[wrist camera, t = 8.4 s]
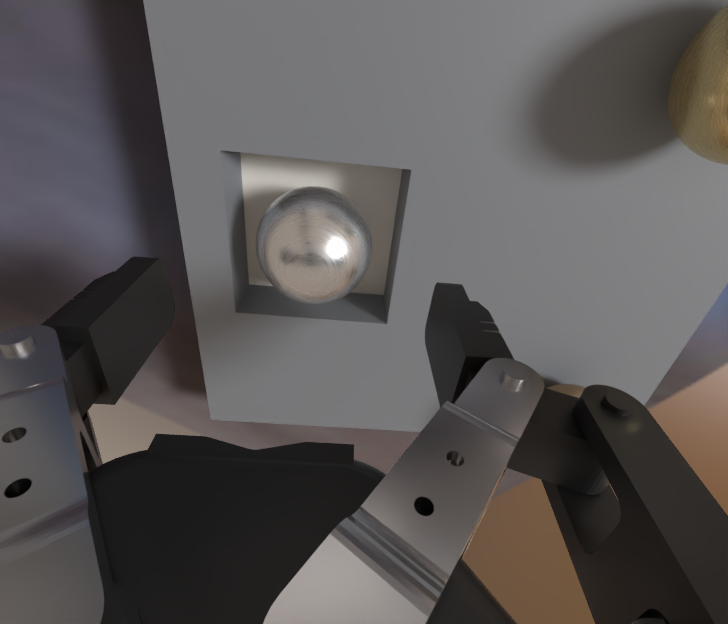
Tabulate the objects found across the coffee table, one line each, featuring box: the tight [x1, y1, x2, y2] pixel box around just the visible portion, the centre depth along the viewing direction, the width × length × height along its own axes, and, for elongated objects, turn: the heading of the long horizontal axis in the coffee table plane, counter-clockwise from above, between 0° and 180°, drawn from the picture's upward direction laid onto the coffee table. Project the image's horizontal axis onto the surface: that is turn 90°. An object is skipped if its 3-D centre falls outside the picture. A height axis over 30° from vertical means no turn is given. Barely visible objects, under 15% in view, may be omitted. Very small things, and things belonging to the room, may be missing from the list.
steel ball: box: [256, 186, 373, 304], centre depth 15 cm, size 4×4×4 cm
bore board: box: [143, 0, 728, 432], centre depth 17 cm, size 20×22×3 cm
